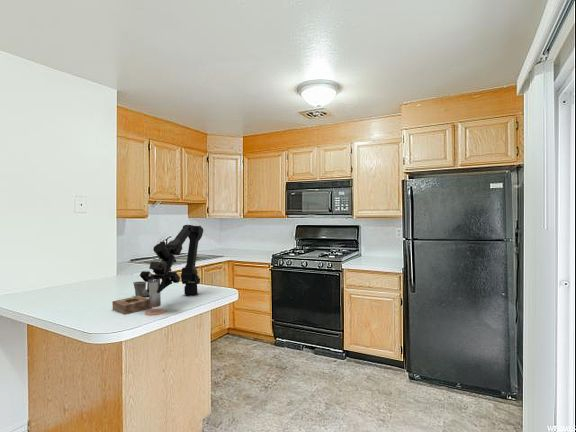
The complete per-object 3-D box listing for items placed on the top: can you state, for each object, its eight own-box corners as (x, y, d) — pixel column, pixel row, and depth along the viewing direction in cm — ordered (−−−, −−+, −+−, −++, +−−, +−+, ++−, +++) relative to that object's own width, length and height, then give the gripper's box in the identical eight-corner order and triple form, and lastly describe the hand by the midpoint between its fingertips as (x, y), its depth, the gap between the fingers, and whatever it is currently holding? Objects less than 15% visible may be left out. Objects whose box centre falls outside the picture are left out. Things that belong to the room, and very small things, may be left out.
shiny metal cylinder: (157, 303, 164) (157, 277, 164) (162, 305, 160) (161, 278, 160) (147, 305, 160) (146, 279, 160) (152, 307, 157) (151, 280, 157)
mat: (152, 308, 166) (152, 308, 166) (169, 309, 164) (169, 309, 164) (140, 314, 157) (140, 313, 157) (157, 315, 155) (157, 314, 155)
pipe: (151, 298, 187) (150, 283, 186) (130, 297, 189) (130, 283, 189) (157, 295, 193) (157, 281, 192) (137, 294, 195) (137, 280, 195)
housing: (138, 303, 176) (138, 295, 176) (151, 307, 168) (151, 299, 168) (112, 309, 166) (112, 301, 166) (125, 314, 158) (125, 305, 158)
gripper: (141, 254, 166) (126, 282, 155) (176, 255, 162) (163, 283, 151) (151, 268, 174) (138, 295, 163) (185, 268, 169) (173, 296, 159)
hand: (152, 292), depth 159 cm, fingers closed on shiny metal cylinder, 5 cm apart
